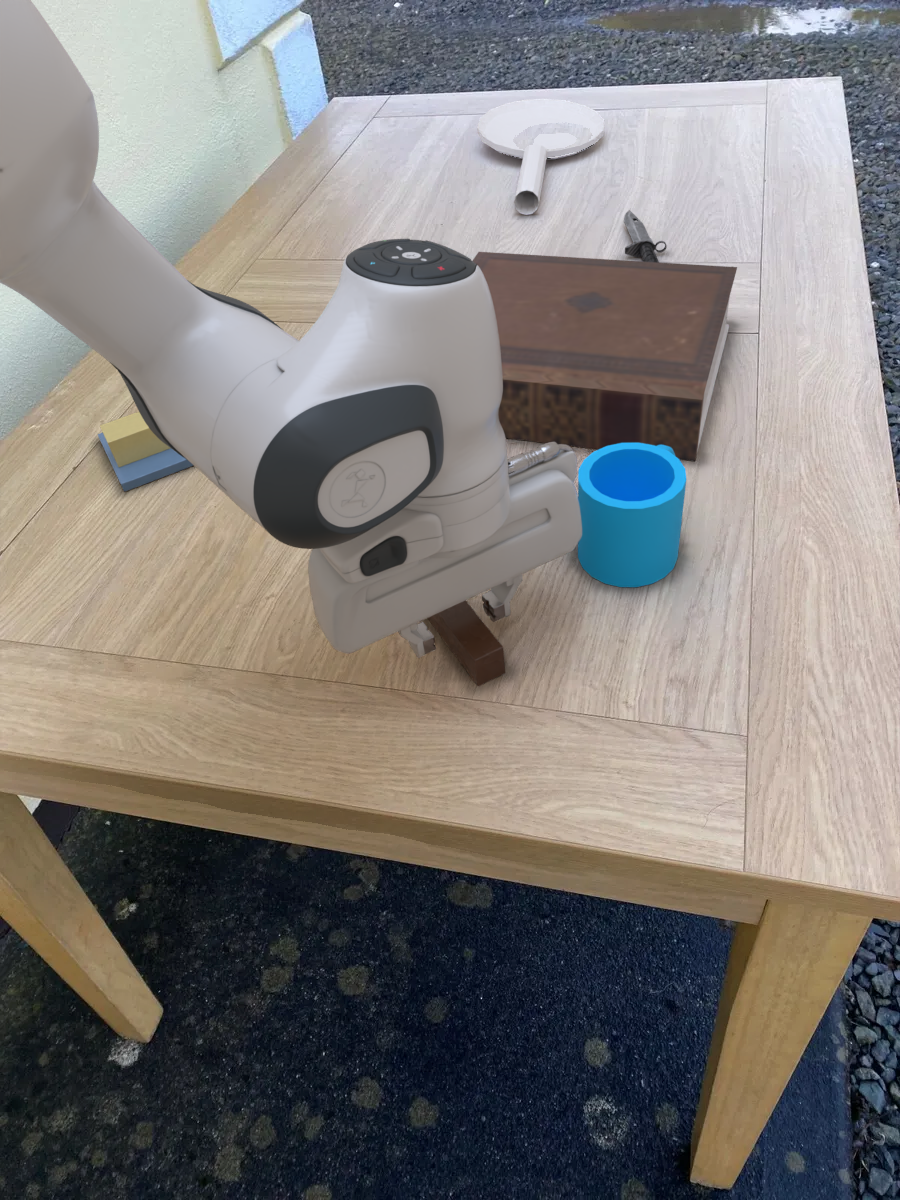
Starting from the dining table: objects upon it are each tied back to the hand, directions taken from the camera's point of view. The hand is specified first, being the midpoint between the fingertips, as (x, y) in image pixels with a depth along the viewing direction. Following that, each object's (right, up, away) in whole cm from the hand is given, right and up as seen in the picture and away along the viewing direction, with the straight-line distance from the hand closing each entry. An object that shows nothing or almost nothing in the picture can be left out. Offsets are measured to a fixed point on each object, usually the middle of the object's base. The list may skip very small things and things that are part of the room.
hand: (460, 631), depth 69 cm
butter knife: (-2, +2, +5) cm, 6 cm away
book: (+12, +26, +25) cm, 38 cm away
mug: (+15, +7, +7) cm, 18 cm away
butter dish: (-28, +19, +24) cm, 42 cm away
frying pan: (+12, +66, +65) cm, 94 cm away
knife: (+23, +45, +43) cm, 67 cm away
